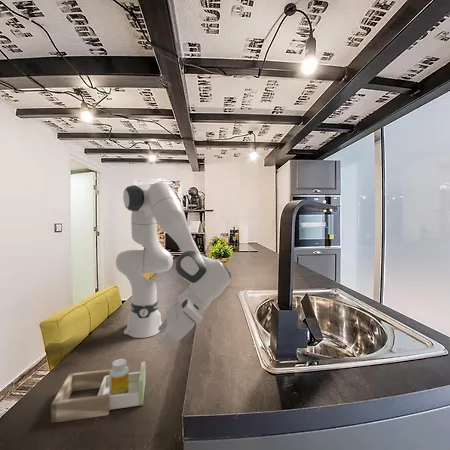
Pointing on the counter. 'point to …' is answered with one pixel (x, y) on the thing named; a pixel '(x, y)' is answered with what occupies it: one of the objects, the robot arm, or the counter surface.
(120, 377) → the supplement bottle
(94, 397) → the tray frame
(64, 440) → the counter surface
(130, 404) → the tray
